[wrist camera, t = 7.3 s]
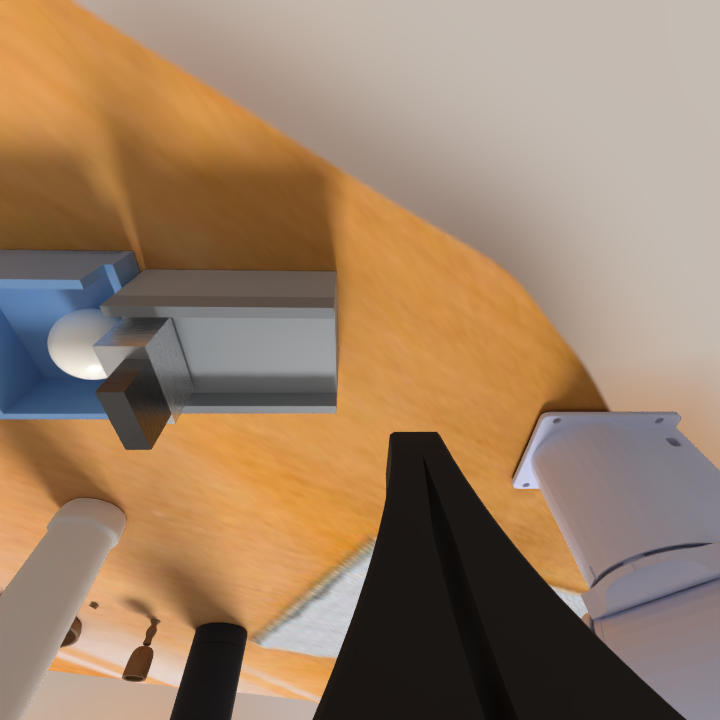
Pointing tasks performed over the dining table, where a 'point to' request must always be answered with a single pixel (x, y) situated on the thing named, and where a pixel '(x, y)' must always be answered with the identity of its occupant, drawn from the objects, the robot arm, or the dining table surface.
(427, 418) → the dining table surface
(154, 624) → the place setting
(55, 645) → the bottle
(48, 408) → the open box
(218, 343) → the open gray tray
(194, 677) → the wine bottle
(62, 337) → the ball
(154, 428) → the grey angular hollow piece
